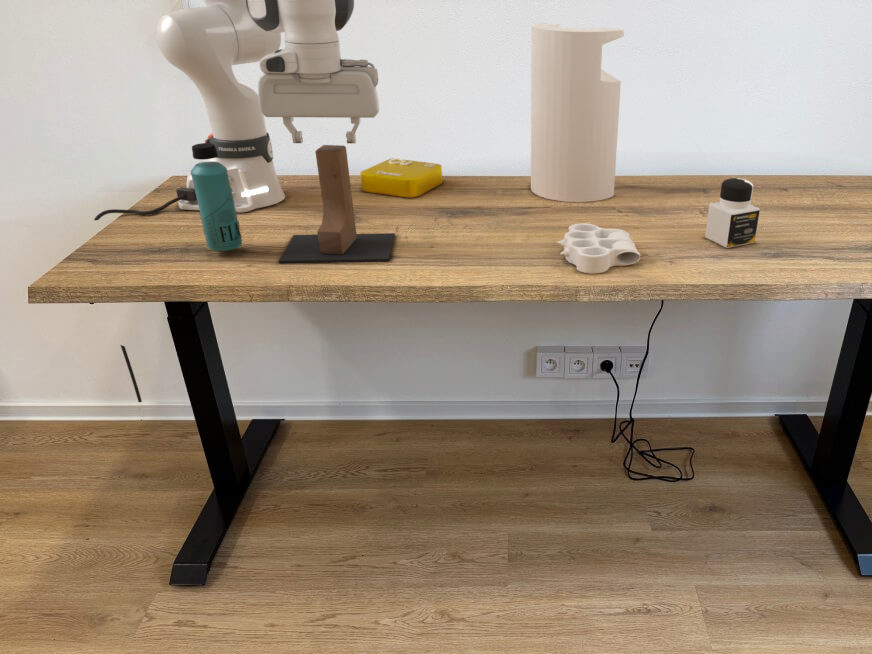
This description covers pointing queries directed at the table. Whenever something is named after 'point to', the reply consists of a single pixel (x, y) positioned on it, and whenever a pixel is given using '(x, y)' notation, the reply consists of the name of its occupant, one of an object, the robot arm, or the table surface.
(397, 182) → the element tile
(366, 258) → the desk mat
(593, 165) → the beige notched cylinder
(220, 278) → the table surface
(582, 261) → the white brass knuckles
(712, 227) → the medicine bottle
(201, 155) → the beverage bottle
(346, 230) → the wooden block
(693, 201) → the table surface
